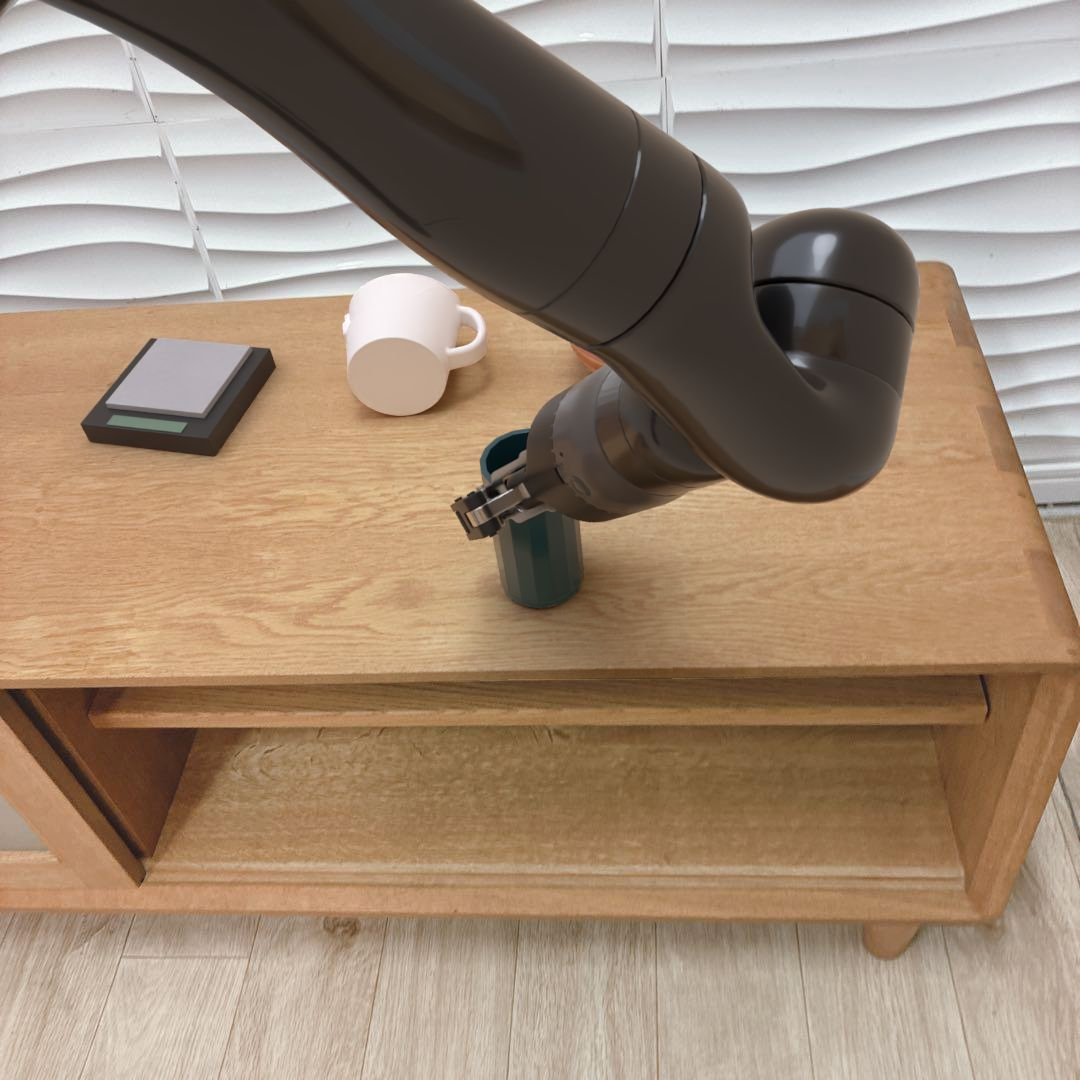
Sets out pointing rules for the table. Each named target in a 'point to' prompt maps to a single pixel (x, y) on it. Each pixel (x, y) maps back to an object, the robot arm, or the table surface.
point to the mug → (407, 342)
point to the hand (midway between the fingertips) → (516, 487)
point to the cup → (534, 541)
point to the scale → (180, 396)
